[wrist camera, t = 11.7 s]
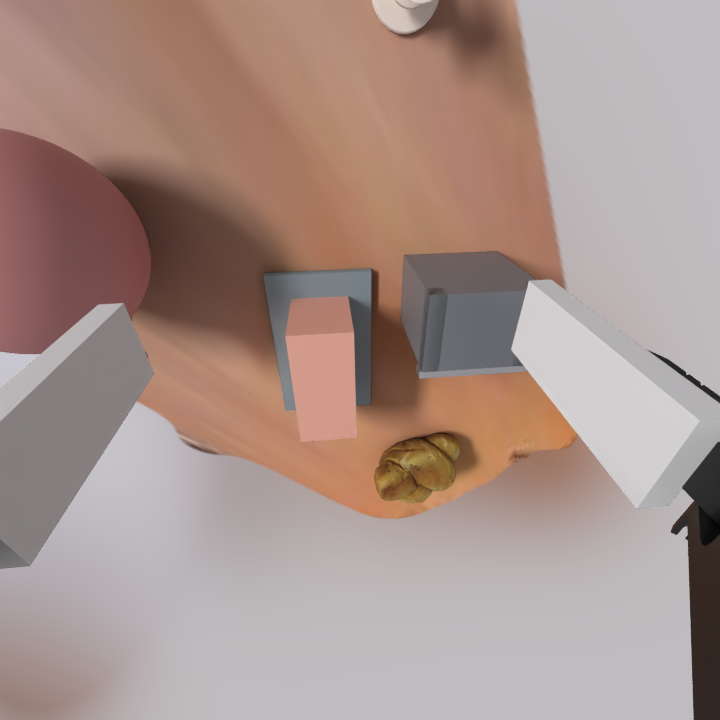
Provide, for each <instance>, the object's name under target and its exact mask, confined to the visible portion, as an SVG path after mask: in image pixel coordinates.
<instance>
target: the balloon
mask: <svg viewBox="0 0 720 720" xmlns="http://www.w3.org/2000/svg"><path fill="white" fill-rule="evenodd" d="M150 275H151V253H150V247H149V243H148V239H147V236H146V233H145V230H144V228H143V225H142V223H141V221H140V219H139V217H138V215H137V214H136V212H135V210H134V209H133V207H132V206H131V204H130V203H129V202H128V200H127V199H126V198H125V196H124V195H123V194H122V193H121V192H120V191H119V190H118V188H117V187H116V186H115V185H114V184H113V183H112V182H111V181H110V180H108V179H107V178H106V177H105V176H104V175H103V174H102V173H100V172H99V171H98V170H97V169H95V168H94V167H93V166H91V165H90V164H88V163H87V162H85V161H84V160H82V159H81V158H79V157H78V156H76V155H74V154H72V153H71V152H69V151H67V150H65V149H63V148H61V147H59V146H57V145H54V144H52V143H50V142H47V141H45V140H42V139H39V138H36V137H33V136H30V135H27V134H23V133H20V132H15V131H11V130H6V129H0V351H1V352H9V353H18V354H41V353H42V352H44V351H45V350H46V349H47V348H48V347H49V346H51V345H52V344H53V343H54V342H55V341H56V340H58V339H59V338H60V337H61V336H62V335H63V334H65V333H66V332H67V331H68V330H69V329H70V328H72V327H73V326H74V325H75V324H76V323H77V322H79V321H80V320H81V319H82V318H83V317H84V316H86V315H87V314H88V313H89V312H90V311H91V310H93V309H94V308H95V307H96V306H97V305H99V304H117V303H124V305H125V307H126V310H127V312H128V314H129V316H130V319H131V321H132V315H133V314H134V313H135V311H136V310H137V308H138V307H139V305H140V304H141V302H142V300H143V298H144V296H145V294H146V291H147V288H148V285H149V281H150ZM144 351H145V350H144ZM145 353H146V352H145ZM146 355H147V353H146ZM147 358H148V356H147Z"/></svg>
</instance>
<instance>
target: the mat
mask: <svg viewBox="0 0 720 720" xmlns="http://www.w3.org/2000/svg"><path fill="white" fill-rule="evenodd" d="M263 278H264V284H265V290H266V296H267V302H268V308H269V314H270V320H271V326H272V332H273V338H274V344H275V350H276V356H277V362H278V368H279V374H280V380H281V386H282V392H283V397H284V403H285V409H286V411H289V410H296V406H295V399H294V392H293V385H292V379H291V372H290V365H289V358H288V351H287V345H286V338H285V335H286V329H287V322H288V316H289V310H290V304H291V299H298V298H318V297H338V296H348V299H349V305H350V311H351V317H352V323H353V329H354V350H355V390H356V406H358V405H371V269H370V268H368V269H346V270H323V271H301V272H278V273H264V275H263Z"/></svg>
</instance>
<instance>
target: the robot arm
mask: <svg viewBox="0 0 720 720" xmlns="http://www.w3.org/2000/svg"><path fill="white" fill-rule="evenodd" d="M511 350H512V352H513V353H514V354H515V355H516V357H517V358H518V359H519V360H520V362H521V363H522V364H523V365H524V367H525V368H526V369H527V370H528V372H529V373H530V374H531V376H532V377H533V378H534V379H535V381H536V382H537V383H538V384H539V386H540V387H541V388H542V389H543V391H544V392H545V393H546V395H547V396H548V397H549V398H550V400H551V401H552V402H553V403H554V405H555V406H556V407H557V408H558V410H559V411H560V412H561V414H562V415H563V416H564V417H565V419H566V420H567V421H568V422H569V424H570V425H571V426H572V427H573V429H574V430H575V431H576V432H577V434H578V435H579V436H580V438H581V439H582V440H583V441H584V443H585V444H586V445H587V446H588V448H589V449H590V450H591V451H592V453H593V454H594V455H595V457H596V458H597V459H598V460H599V462H600V463H601V464H602V465H603V467H604V468H605V469H606V470H607V472H608V473H609V474H610V476H611V477H612V478H613V479H614V481H615V482H616V483H617V484H618V486H619V487H620V488H621V489H622V491H623V492H624V493H625V494H626V496H627V497H628V498H629V500H630V501H631V502H632V503H633V505H634V506H635V507H636V508H637V509H640V508H650V507H661V506H669V505H670V504H671V502H672V501H673V500H674V499H675V497H676V496H677V495H678V494H679V492H680V491H681V490H682V489H684V490H685V491H686V492H687V493H688V495H689V496H690V497H691V498H692V499H693V500H694V502H693V503H692V504H691V505H690V506H689V507H688V509H687V510H686V511H685V512H684V513H683V515H682V516H681V517H680V518H679V519H678V520H677V521H676V523H675V524H674V525H673V527H672V530H671V533H673V534H676V535H677V534H678V533H679V532H680V530H681V529H682V528H683V527H685V526H688V536H687V537H686V539H687V540H688V556H689V587H690V617H691V647H692V679H693V708H694V720H720V396H718V395H717V394H716V393H714V392H713V391H712V390H710V389H709V388H707V387H706V386H705V385H702V386H701V384H700V382H699V381H698V380H696V379H695V378H693V377H692V376H691V375H686V372H685V371H684V370H682V369H681V368H680V367H678V366H677V365H675V364H674V363H672V362H671V361H670V360H668V359H666V358H664V357H662V356H660V355H657V354H655V353H653V352H651V351H649V350H647V349H645V348H644V347H642V346H641V345H640V344H638V343H637V342H636V341H634V340H633V339H631V338H630V337H629V336H627V335H626V334H625V333H623V332H622V331H621V330H619V329H618V328H617V327H615V326H614V325H612V324H611V323H610V322H608V321H607V320H606V319H604V318H603V317H601V316H600V315H599V314H597V313H596V312H595V311H593V310H592V309H591V308H589V307H588V306H587V305H585V304H584V303H583V302H581V301H580V300H578V299H577V298H576V297H574V296H573V295H572V294H570V293H569V292H568V291H566V290H565V289H563V288H562V287H561V286H559V285H558V284H557V283H555V282H554V281H553V280H533V281H529V283H528V287H527V290H526V294H525V298H524V302H523V306H522V310H521V313H520V317H519V321H518V325H517V329H516V333H515V336H514V340H513V344H512V348H511ZM153 375H154V371H153V369H152V367H151V365H150V362H149V360H148V358H147V355H146V353H145V351H144V349H143V346H142V344H141V342H140V339H139V337H138V335H137V333H136V330H135V328H134V326H133V323H132V321H131V319H130V316H129V314H128V312H127V310H126V307H125V305H124V303H117V304H99V305H97V306H96V307H95V308H94V309H93V310H91V311H90V312H89V313H88V314H87V315H86V316H84V317H83V318H82V319H81V320H80V321H79V322H77V323H76V324H75V325H74V326H73V327H72V328H70V329H69V330H68V331H67V332H66V333H65V334H63V335H62V336H61V337H60V338H59V339H58V340H56V341H55V342H54V343H53V344H52V345H51V346H49V347H48V348H47V349H46V350H45V351H44V352H42V353H41V354H40V355H39V356H38V357H37V358H35V359H34V360H33V361H32V362H31V363H30V364H28V365H27V366H26V367H25V368H24V369H23V370H21V371H20V372H19V373H18V374H17V375H16V376H14V377H13V378H12V379H11V380H10V381H9V382H7V383H6V384H5V385H4V386H3V387H2V388H0V569H3V568H13V567H24V566H30V565H31V564H32V562H33V561H34V559H35V558H36V556H37V554H38V553H39V551H40V550H41V548H42V547H43V545H44V543H45V542H46V540H47V539H48V537H49V536H50V534H51V533H52V531H53V529H54V528H55V527H56V525H57V523H58V522H59V520H60V519H61V517H62V516H63V514H64V512H65V511H66V510H67V508H68V506H69V505H70V503H71V502H72V500H73V499H74V497H75V496H76V494H77V492H78V491H79V489H80V488H81V486H82V485H83V483H84V482H85V480H86V478H87V477H88V475H89V474H90V472H91V471H92V469H93V468H94V466H95V465H96V463H97V461H98V460H99V458H100V457H101V455H102V454H103V452H104V451H105V449H106V448H107V446H108V444H109V443H110V441H111V440H112V438H113V437H114V435H115V434H116V432H117V430H118V429H119V427H120V426H121V424H122V422H123V421H124V420H125V418H126V417H127V415H128V413H129V412H130V410H131V409H132V407H133V406H134V404H135V403H136V401H137V399H138V398H139V396H140V395H141V393H142V392H143V390H144V389H145V387H146V386H147V384H148V382H149V381H150V379H151V378H152V376H153Z"/></svg>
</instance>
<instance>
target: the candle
mask: <svg viewBox="0 0 720 720" xmlns="http://www.w3.org/2000/svg"><path fill="white" fill-rule="evenodd" d="M438 2H439V0H372V4H373V7H374V10H375V13H376V15H377V17H378V18H379V20H380V21H381V23H382V24H383V25H384V26H385V27H386V28H387V29H389V30H390V31H392V32H395V33H397V34H410V33H413V32H416V31H417V30H419V29H420V28H422V27H423V26H424V25H425V24H426V23H427V22H428V21H429V19H430V18H431V17H432V15H433V13H434V11H435V10H436V8H437V5H438Z"/></svg>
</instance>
